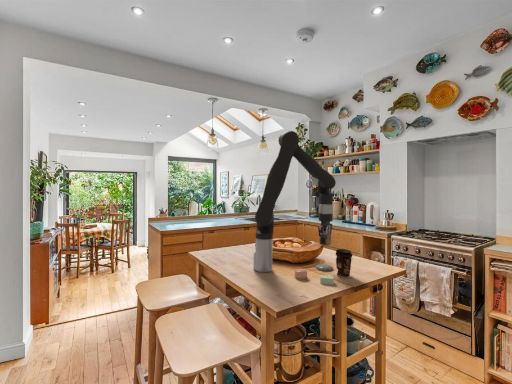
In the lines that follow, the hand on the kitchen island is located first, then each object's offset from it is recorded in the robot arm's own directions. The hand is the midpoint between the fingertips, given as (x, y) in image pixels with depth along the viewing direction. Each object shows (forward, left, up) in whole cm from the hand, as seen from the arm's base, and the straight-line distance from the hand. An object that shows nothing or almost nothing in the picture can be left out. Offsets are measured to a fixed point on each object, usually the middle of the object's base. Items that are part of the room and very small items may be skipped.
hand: (325, 243), depth 148 cm
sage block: (+10, -19, -15) cm, 26 cm away
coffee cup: (+12, -4, -14) cm, 19 cm away
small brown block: (-3, -21, -14) cm, 26 cm away
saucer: (0, 0, -14) cm, 14 cm away
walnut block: (0, 0, -1) cm, 1 cm away
